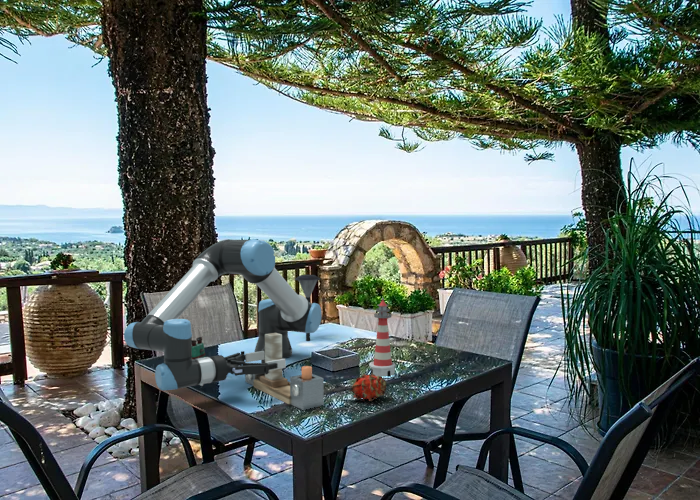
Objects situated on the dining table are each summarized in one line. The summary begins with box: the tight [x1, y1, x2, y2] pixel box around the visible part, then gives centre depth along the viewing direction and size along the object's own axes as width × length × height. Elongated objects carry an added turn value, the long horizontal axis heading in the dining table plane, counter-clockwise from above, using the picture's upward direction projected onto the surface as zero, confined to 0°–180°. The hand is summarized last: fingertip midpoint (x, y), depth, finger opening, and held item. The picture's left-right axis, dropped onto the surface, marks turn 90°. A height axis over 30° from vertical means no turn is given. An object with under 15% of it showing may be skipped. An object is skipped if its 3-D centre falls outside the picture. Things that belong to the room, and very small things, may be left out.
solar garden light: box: [294, 274, 321, 342], centre depth 249 cm, size 12×12×30 cm
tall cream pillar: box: [260, 333, 289, 388], centre depth 174 cm, size 6×8×16 cm
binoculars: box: [192, 336, 206, 359], centre depth 203 cm, size 9×11×10 cm
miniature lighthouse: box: [368, 297, 396, 376], centre depth 190 cm, size 9×9×30 cm
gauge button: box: [301, 365, 313, 380], centre depth 159 cm, size 3×3×6 cm
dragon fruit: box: [349, 372, 388, 402], centre depth 163 cm, size 8×8×12 cm
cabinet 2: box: [289, 373, 325, 411], centre depth 159 cm, size 8×7×8 cm
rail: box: [253, 380, 291, 405], centre depth 170 cm, size 8×22×2 cm, turn 37°
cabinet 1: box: [244, 374, 265, 387], centre depth 182 cm, size 8×7×5 cm
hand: (274, 359), depth 174 cm, fingers open, 13 cm apart
